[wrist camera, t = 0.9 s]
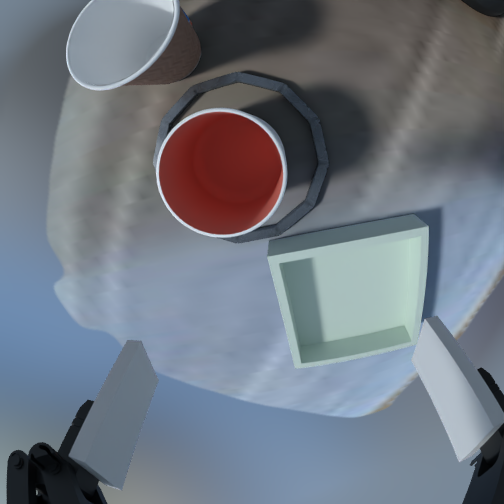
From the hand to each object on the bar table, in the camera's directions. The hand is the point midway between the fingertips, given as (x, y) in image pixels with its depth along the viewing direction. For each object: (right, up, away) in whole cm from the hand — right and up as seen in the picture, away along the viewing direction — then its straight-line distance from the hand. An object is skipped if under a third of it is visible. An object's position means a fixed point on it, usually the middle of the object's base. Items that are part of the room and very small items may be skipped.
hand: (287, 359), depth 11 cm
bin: (+11, 0, +23) cm, 25 cm away
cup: (-3, +15, +17) cm, 23 cm away
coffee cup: (-10, +26, +12) cm, 31 cm away
